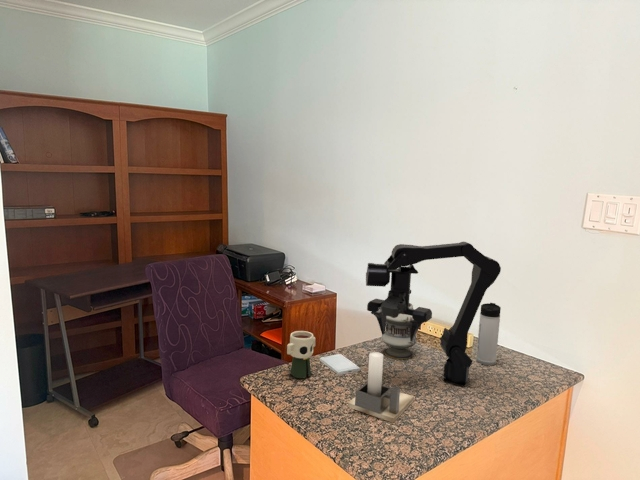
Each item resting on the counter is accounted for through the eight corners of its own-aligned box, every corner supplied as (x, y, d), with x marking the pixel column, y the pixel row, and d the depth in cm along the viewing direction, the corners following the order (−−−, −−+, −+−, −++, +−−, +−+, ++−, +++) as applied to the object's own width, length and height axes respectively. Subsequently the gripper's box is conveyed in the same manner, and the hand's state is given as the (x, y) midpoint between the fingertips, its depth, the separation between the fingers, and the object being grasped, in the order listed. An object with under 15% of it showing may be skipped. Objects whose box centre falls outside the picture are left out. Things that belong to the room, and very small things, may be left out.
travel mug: (497, 361, 153) (502, 304, 150) (493, 367, 147) (498, 308, 144) (478, 356, 156) (483, 301, 153) (474, 362, 150) (479, 305, 148)
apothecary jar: (381, 345, 163) (384, 298, 161) (415, 349, 161) (418, 301, 158) (379, 358, 151) (382, 307, 149) (415, 362, 149) (419, 310, 146)
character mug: (294, 384, 130) (295, 342, 128) (279, 376, 135) (280, 335, 133) (321, 374, 137) (323, 334, 135) (306, 367, 142) (307, 327, 140)
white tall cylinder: (381, 399, 118) (383, 353, 117) (380, 406, 115) (382, 358, 113) (367, 397, 119) (370, 351, 117) (366, 404, 116) (368, 356, 114)
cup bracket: (402, 407, 116) (404, 384, 116) (391, 418, 110) (392, 395, 110) (367, 395, 122) (368, 373, 121) (354, 406, 116) (356, 383, 115)
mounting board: (413, 400, 123) (414, 396, 122) (393, 422, 111) (393, 418, 111) (371, 387, 130) (371, 383, 129) (347, 407, 118) (347, 402, 118)
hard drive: (319, 357, 148) (338, 371, 137) (340, 353, 152) (361, 367, 141) (319, 362, 148) (338, 376, 137) (340, 358, 152) (360, 372, 141)
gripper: (359, 286, 131) (357, 338, 133) (420, 298, 121) (417, 352, 123) (376, 280, 140) (373, 328, 142) (434, 290, 130) (430, 341, 132)
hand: (397, 337), depth 135 cm, fingers open, 9 cm apart
